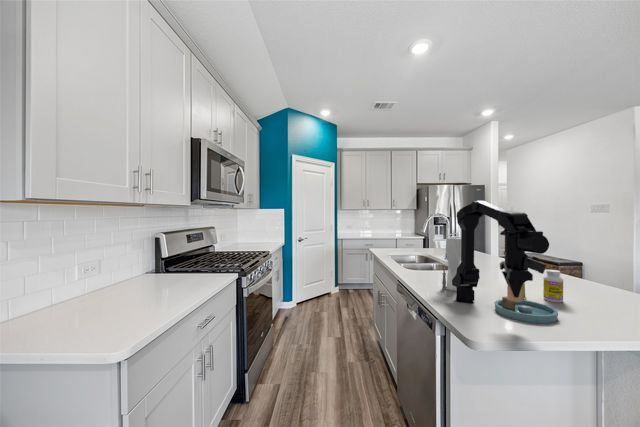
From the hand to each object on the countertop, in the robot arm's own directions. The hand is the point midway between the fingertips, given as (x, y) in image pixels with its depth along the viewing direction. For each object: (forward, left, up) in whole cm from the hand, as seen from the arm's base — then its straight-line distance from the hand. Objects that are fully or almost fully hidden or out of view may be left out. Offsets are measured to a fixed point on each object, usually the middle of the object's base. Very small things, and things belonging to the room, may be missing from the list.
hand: (514, 295), depth 99 cm
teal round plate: (+6, +15, -10) cm, 19 cm away
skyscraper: (-18, +42, -11) cm, 47 cm away
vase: (+8, +38, -10) cm, 40 cm away
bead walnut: (+1, +14, -9) cm, 17 cm away
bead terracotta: (0, 0, -2) cm, 2 cm away
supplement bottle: (+21, +38, -10) cm, 45 cm away
